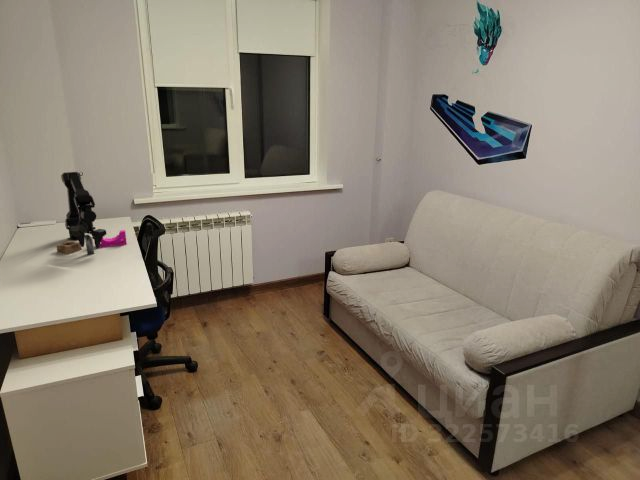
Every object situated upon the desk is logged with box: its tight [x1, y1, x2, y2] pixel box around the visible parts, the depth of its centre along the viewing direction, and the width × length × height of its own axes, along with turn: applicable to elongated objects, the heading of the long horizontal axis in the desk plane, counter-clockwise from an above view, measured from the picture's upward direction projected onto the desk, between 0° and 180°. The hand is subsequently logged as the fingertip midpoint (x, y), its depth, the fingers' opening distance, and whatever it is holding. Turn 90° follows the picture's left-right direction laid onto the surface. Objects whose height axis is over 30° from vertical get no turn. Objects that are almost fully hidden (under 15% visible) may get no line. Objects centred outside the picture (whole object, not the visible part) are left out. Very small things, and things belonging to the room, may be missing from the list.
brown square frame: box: [55, 240, 83, 255], centre depth 233 cm, size 8×8×4 cm
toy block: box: [99, 229, 128, 248], centre depth 245 cm, size 15×6×8 cm, turn 116°
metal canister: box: [85, 233, 95, 256], centre depth 228 cm, size 3×3×10 cm
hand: (90, 247), depth 229 cm, fingers open, 9 cm apart
